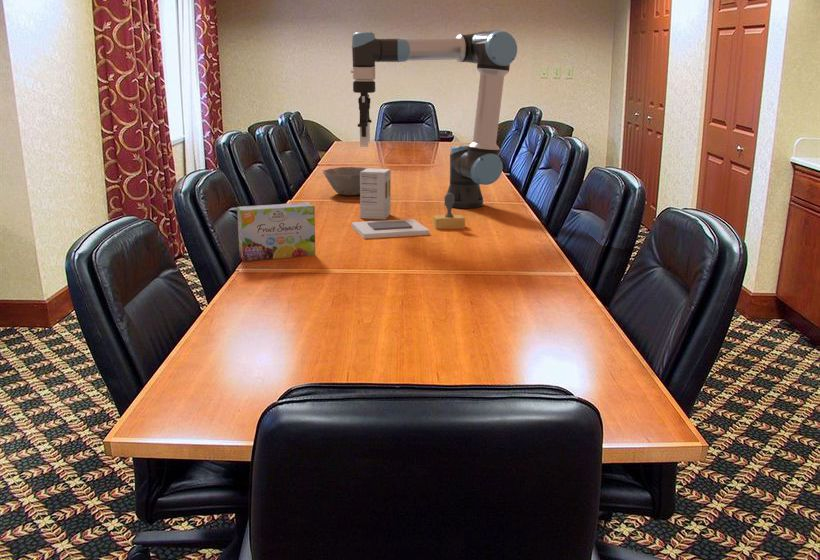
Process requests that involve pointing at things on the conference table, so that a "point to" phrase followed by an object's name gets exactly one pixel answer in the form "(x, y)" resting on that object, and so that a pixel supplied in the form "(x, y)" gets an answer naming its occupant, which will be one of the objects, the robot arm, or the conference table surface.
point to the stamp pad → (390, 228)
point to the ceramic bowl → (344, 179)
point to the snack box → (276, 231)
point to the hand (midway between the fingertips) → (365, 144)
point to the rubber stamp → (449, 216)
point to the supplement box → (375, 193)
